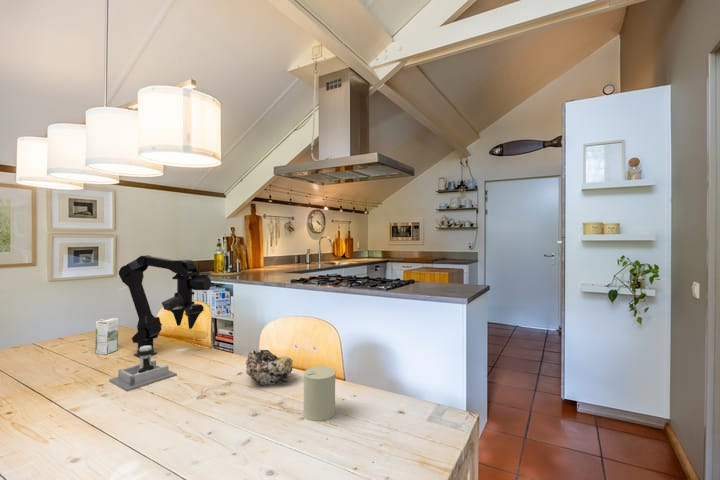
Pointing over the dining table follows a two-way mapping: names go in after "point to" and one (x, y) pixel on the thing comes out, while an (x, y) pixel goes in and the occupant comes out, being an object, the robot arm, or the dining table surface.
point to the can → (319, 393)
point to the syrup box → (106, 336)
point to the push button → (145, 358)
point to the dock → (141, 376)
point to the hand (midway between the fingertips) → (184, 327)
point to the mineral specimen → (268, 367)
